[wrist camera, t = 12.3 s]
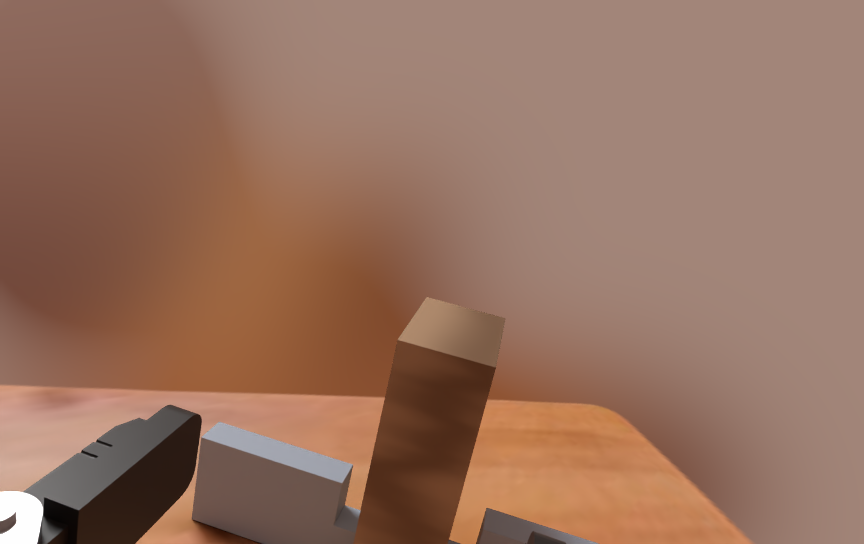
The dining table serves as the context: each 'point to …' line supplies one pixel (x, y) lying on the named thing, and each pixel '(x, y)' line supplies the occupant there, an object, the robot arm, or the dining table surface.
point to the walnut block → (429, 424)
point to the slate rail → (300, 495)
